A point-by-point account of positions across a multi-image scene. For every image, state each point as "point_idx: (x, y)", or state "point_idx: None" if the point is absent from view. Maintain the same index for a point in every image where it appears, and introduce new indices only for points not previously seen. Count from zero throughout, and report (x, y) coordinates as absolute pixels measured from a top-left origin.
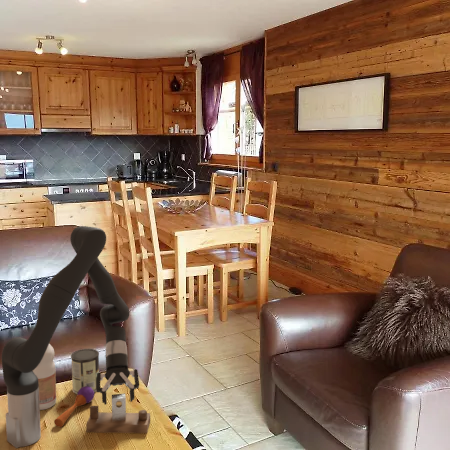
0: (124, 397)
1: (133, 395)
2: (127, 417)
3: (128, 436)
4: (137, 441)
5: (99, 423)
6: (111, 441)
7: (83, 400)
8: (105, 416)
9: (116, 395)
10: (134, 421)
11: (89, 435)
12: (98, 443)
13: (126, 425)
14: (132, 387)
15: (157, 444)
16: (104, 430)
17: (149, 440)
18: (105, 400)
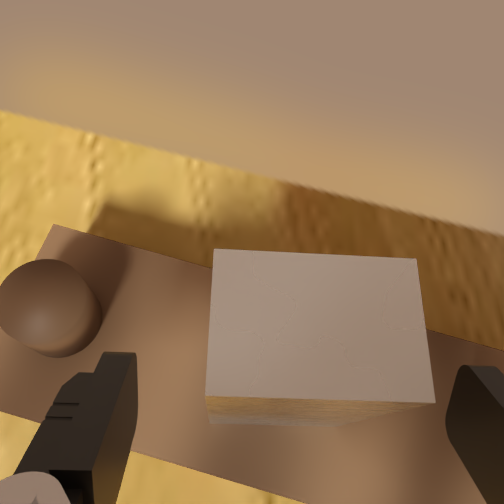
0: (230, 262)
1: (68, 400)
2: (194, 376)
3: (208, 251)
4: (160, 187)
5: (437, 340)
6: (321, 227)
7: None
8: (397, 449)
9: (353, 359)
10: (144, 294)
11: (473, 329)
12: (401, 228)
13: None
14: (22, 489)
15: (48, 131)
16: None
17: (83, 177)
18: (492, 375)
